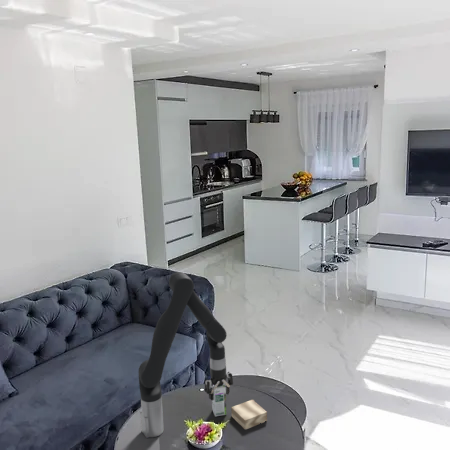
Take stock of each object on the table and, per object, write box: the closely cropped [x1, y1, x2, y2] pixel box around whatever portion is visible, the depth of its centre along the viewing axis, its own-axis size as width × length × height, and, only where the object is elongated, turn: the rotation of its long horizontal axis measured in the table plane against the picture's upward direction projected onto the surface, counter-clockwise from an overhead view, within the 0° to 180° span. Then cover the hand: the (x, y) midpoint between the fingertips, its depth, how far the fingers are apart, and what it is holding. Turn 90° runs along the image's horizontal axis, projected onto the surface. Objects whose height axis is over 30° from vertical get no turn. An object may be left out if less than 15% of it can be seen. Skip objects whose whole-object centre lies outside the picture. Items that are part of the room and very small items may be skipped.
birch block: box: [230, 399, 268, 430], centre depth 215 cm, size 12×12×5 cm
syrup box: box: [211, 384, 228, 418], centre depth 219 cm, size 6×6×14 cm
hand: (219, 396), depth 219 cm, fingers open, 8 cm apart
